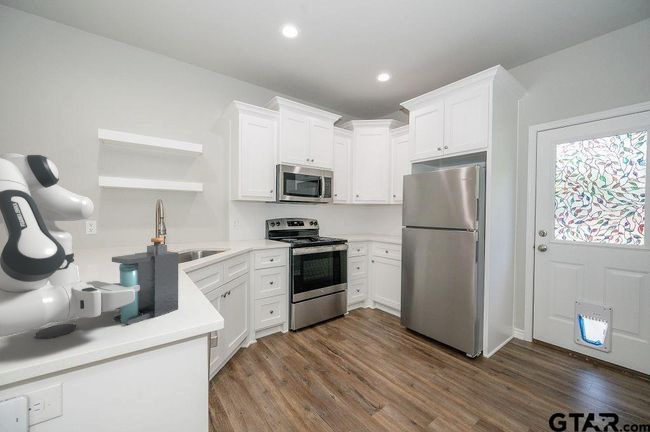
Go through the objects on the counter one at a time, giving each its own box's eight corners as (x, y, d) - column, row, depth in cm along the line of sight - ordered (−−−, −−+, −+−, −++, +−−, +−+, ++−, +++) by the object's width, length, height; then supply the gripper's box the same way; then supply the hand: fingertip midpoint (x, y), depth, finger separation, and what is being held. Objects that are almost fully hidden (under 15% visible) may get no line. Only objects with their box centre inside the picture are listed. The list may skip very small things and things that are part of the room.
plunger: (148, 252, 89) (148, 238, 89) (158, 250, 92) (158, 237, 92) (155, 252, 87) (155, 239, 87) (165, 251, 90) (165, 238, 90)
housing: (110, 320, 82) (109, 248, 81) (159, 304, 96) (159, 243, 95) (130, 326, 78) (129, 251, 77) (178, 309, 92) (178, 245, 91)
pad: (29, 334, 72) (29, 332, 72) (67, 323, 79) (67, 321, 79) (43, 341, 69) (43, 339, 69) (82, 328, 76) (82, 326, 76)
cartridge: (116, 321, 81) (115, 264, 80) (133, 315, 85) (132, 261, 84) (126, 324, 79) (125, 266, 78) (142, 318, 83) (141, 263, 83)
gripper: (55, 305, 74) (112, 291, 87) (97, 318, 66) (153, 301, 78) (55, 282, 74) (112, 272, 87) (97, 292, 66) (153, 279, 78)
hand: (132, 286), depth 82 cm, fingers closed on cartridge, 4 cm apart
